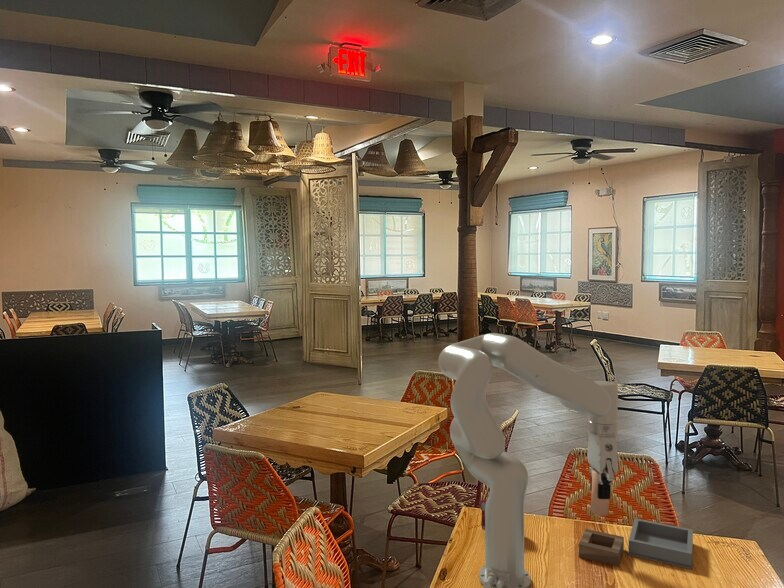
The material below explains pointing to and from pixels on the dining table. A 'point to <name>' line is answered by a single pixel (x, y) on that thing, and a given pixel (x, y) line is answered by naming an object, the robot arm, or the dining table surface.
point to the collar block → (601, 547)
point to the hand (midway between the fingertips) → (600, 494)
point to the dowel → (597, 504)
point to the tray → (661, 543)
